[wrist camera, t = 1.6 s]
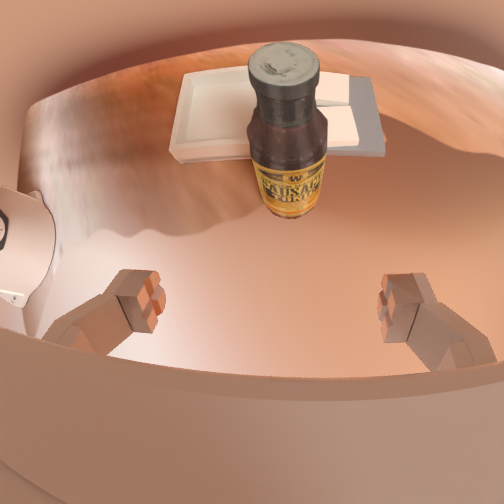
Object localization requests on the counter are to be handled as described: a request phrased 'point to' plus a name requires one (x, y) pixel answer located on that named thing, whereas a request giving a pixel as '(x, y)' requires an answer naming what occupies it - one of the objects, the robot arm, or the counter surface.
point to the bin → (213, 116)
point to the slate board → (363, 121)
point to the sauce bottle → (287, 128)
